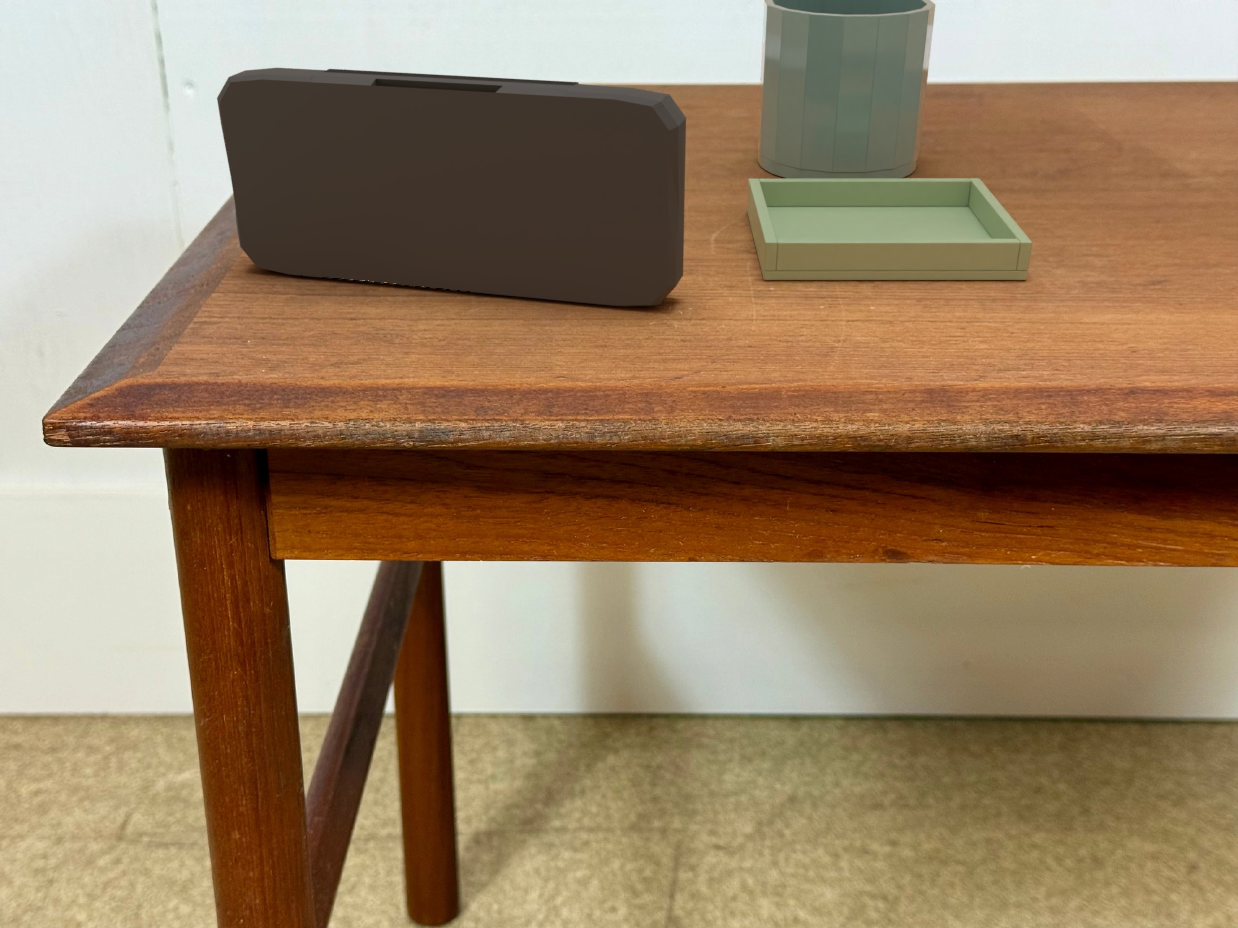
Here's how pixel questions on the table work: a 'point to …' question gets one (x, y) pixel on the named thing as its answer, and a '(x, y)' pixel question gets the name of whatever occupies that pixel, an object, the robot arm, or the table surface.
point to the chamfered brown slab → (459, 182)
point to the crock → (843, 87)
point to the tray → (884, 230)
